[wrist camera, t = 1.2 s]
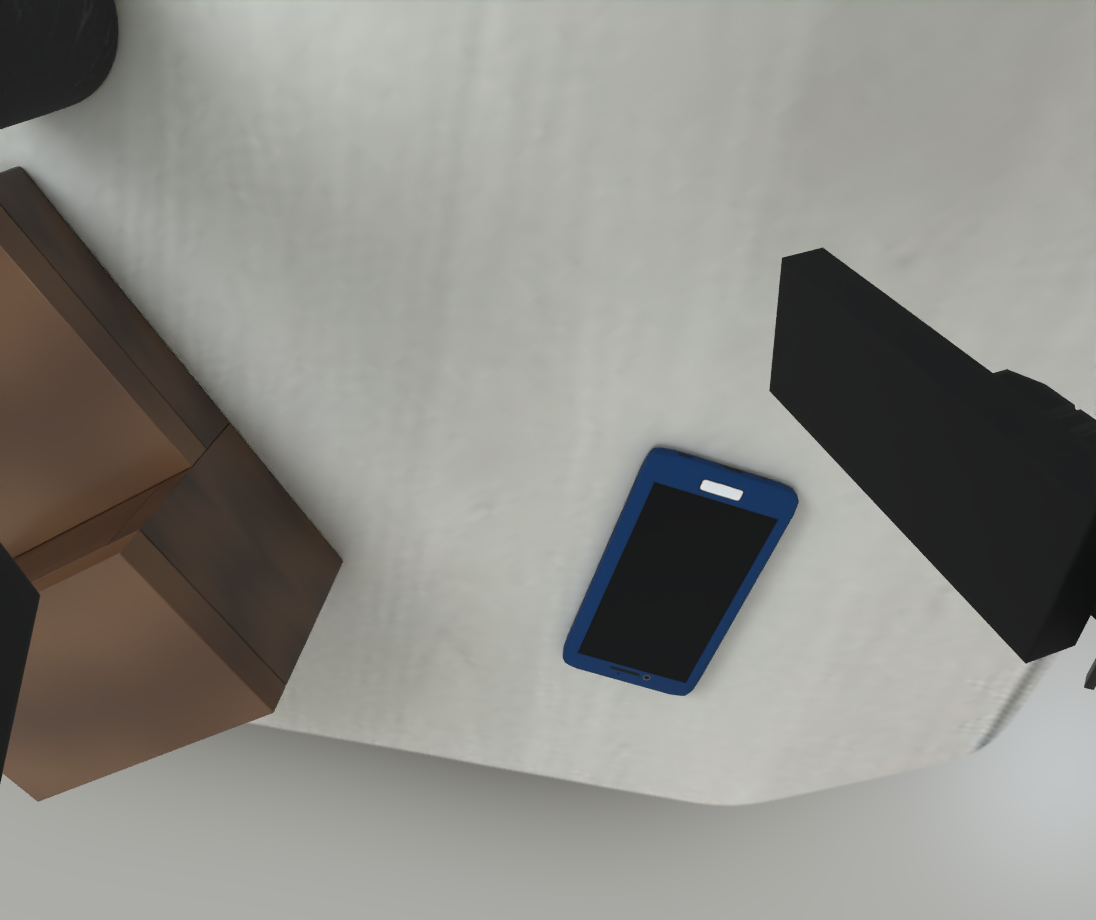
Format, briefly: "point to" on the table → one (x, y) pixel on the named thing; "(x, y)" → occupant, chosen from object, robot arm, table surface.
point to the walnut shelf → (131, 525)
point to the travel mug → (52, 54)
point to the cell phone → (677, 570)
